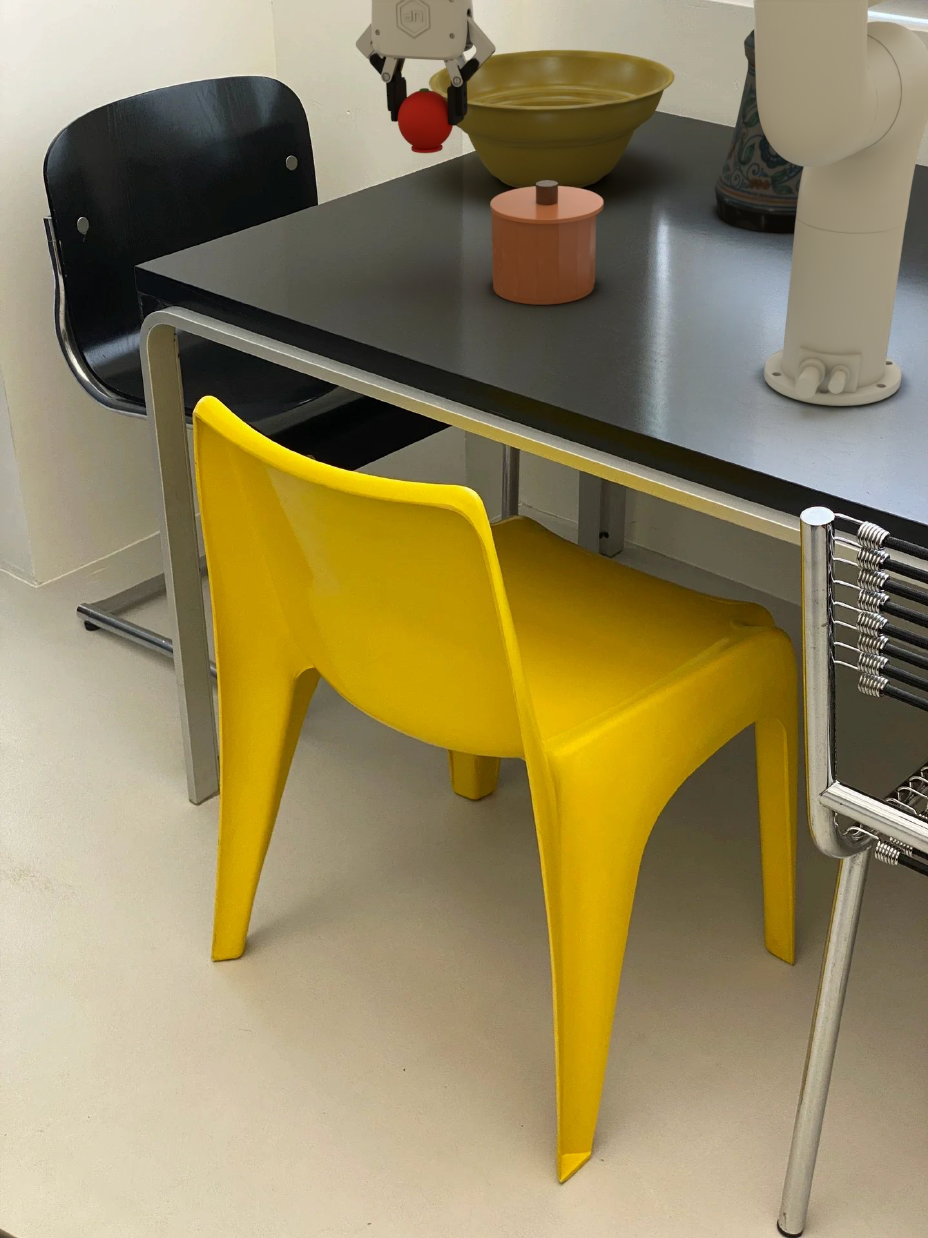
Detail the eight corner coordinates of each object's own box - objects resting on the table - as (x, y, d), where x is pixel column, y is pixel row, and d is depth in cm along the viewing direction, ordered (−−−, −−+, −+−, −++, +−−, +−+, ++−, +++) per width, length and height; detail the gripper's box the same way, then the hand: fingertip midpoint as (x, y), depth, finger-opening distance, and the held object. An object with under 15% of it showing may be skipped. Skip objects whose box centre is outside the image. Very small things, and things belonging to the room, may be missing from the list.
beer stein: (729, 189, 187) (743, -17, 173) (880, 201, 181) (907, -11, 167) (699, 227, 174) (713, 8, 160) (861, 241, 168) (889, 15, 154)
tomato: (443, 157, 151) (440, 96, 147) (390, 154, 153) (387, 93, 149) (462, 143, 155) (460, 83, 152) (411, 140, 157) (408, 81, 154)
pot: (577, 308, 152) (578, 226, 147) (479, 299, 156) (477, 217, 151) (605, 274, 161) (607, 195, 156) (512, 265, 164) (511, 187, 159)
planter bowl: (568, 229, 175) (569, 116, 168) (384, 184, 194) (378, 81, 186) (716, 170, 194) (722, 67, 187) (536, 134, 213) (536, 40, 206)
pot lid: (587, 233, 147) (588, 203, 145) (475, 225, 150) (475, 195, 149) (615, 199, 157) (615, 170, 155) (509, 192, 160) (509, 164, 158)
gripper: (327, -61, 143) (340, 124, 153) (488, -56, 137) (491, 134, 147) (357, -71, 149) (368, 107, 158) (513, -68, 143) (514, 116, 153)
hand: (427, 118), depth 153 cm, fingers closed on tomato, 5 cm apart
